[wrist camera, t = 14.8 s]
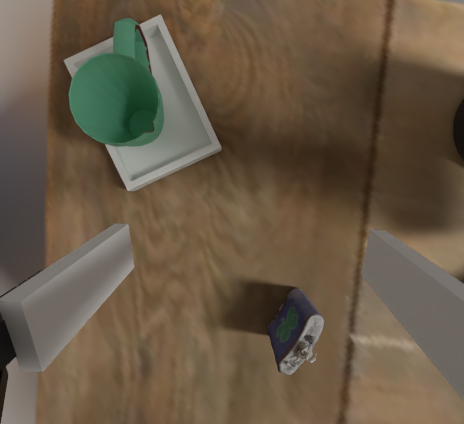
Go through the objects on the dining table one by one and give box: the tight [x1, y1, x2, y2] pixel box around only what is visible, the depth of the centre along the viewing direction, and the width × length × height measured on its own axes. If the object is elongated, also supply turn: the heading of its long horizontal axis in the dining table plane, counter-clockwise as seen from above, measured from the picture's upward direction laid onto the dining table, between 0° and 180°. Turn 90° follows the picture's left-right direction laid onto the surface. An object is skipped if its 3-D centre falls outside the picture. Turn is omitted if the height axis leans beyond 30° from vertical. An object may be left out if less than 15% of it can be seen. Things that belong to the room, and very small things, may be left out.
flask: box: [268, 288, 324, 375], centre depth 34 cm, size 9×3×11 cm, turn 149°
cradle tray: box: [64, 15, 222, 191], centre depth 35 cm, size 15×20×2 cm
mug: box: [68, 18, 164, 147], centre depth 31 cm, size 15×10×10 cm
